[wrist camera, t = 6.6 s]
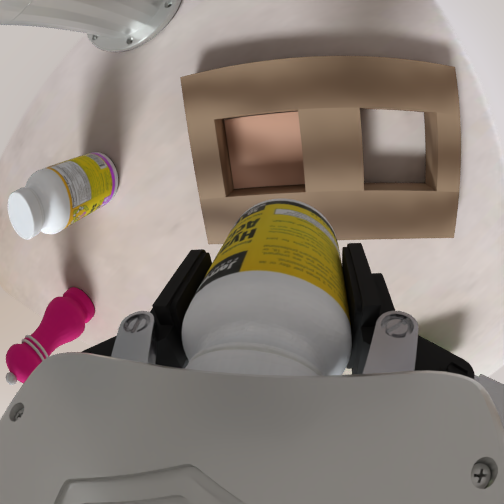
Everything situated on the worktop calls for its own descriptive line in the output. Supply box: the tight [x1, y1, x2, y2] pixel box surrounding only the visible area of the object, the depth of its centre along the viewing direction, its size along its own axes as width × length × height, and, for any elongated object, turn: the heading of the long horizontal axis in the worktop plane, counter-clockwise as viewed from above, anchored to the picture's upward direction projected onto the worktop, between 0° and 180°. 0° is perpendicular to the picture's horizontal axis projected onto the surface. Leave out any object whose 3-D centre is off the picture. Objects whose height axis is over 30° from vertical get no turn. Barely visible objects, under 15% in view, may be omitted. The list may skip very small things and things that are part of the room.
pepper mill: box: [6, 287, 95, 385], centre depth 32 cm, size 7×7×20 cm
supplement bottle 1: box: [8, 152, 118, 239], centre depth 24 cm, size 7×7×13 cm
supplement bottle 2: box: [182, 199, 352, 376], centre depth 10 cm, size 5×5×10 cm
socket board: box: [180, 56, 461, 244], centre depth 23 cm, size 16×24×3 cm, turn 97°
